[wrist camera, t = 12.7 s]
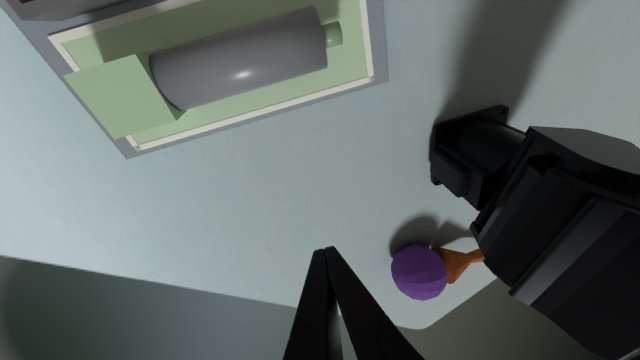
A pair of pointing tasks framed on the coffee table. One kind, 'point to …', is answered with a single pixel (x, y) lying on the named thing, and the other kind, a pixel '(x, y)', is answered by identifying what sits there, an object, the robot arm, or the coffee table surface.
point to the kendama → (429, 269)
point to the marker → (204, 71)
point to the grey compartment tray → (191, 24)
